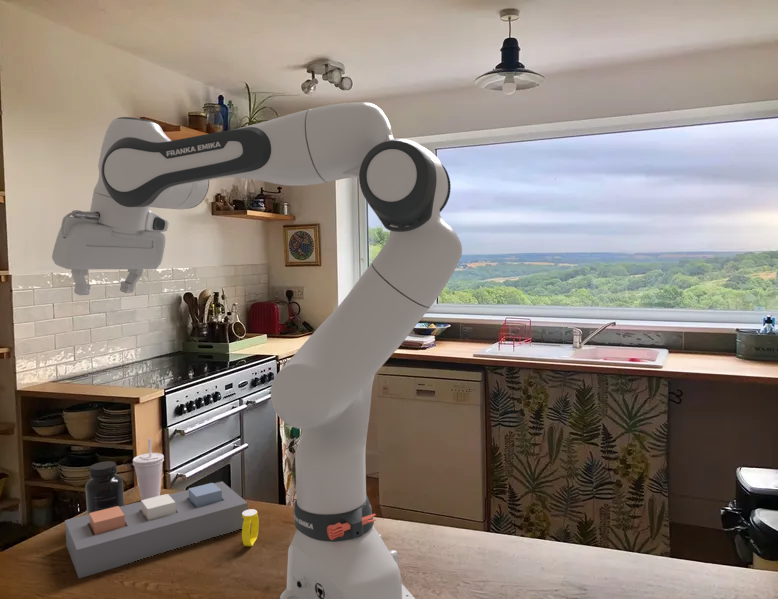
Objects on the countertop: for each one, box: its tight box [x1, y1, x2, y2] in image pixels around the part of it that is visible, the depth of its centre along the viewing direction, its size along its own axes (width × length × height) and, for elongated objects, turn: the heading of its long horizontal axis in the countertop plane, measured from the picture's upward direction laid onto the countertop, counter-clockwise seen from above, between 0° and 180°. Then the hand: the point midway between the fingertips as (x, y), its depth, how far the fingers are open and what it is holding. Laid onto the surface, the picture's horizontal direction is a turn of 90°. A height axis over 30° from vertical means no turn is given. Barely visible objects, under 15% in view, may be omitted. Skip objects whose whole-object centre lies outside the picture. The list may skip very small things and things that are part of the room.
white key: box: [140, 493, 176, 521], centre depth 114 cm, size 5×5×4 cm
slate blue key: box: [187, 482, 222, 508], centre depth 119 cm, size 5×5×4 cm
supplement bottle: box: [84, 461, 125, 515], centre depth 121 cm, size 7×7×12 cm
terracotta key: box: [89, 506, 125, 535], centre depth 109 cm, size 5×5×4 cm
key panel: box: [64, 481, 249, 579], centre depth 114 cm, size 30×14×5 cm, turn 126°
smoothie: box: [132, 437, 165, 501], centre depth 131 cm, size 6×6×14 cm
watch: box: [241, 508, 260, 547], centre depth 111 cm, size 6×3×6 cm, turn 176°
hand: (104, 293), depth 103 cm, fingers open, 8 cm apart
